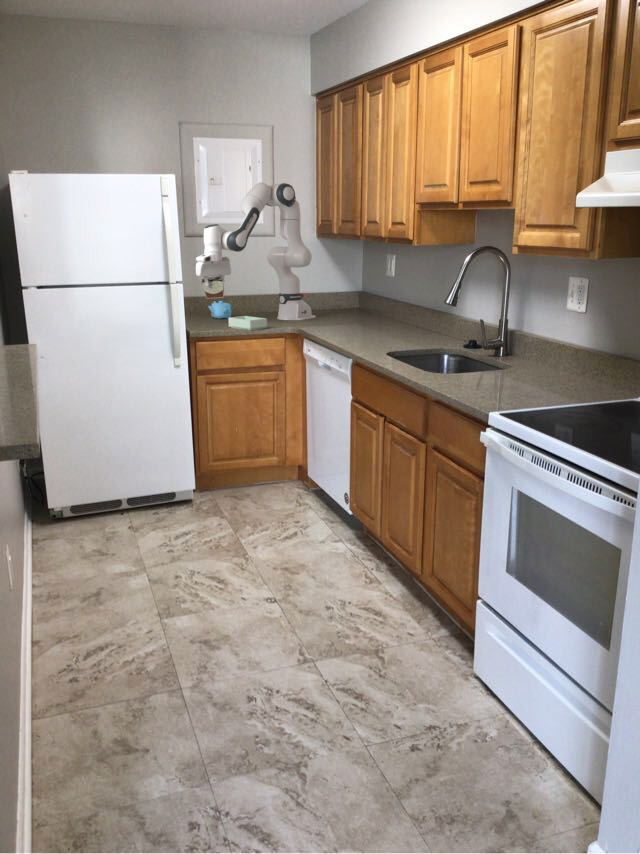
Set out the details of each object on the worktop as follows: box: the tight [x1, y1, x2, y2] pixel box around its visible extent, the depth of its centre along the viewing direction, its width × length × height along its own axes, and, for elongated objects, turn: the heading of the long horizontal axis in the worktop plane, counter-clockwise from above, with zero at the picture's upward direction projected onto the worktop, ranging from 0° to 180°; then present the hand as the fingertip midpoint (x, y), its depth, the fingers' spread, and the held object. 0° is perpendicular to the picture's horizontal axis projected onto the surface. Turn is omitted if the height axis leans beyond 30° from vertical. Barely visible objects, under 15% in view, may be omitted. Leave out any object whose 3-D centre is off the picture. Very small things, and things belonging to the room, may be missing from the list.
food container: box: [200, 276, 226, 300], centre depth 393 cm, size 12×6×10 cm, turn 79°
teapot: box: [207, 300, 232, 320], centre depth 423 cm, size 18×14×10 cm
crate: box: [227, 315, 268, 332], centre depth 388 cm, size 11×17×5 cm, turn 46°
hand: (214, 285), depth 392 cm, fingers closed on food container, 7 cm apart
